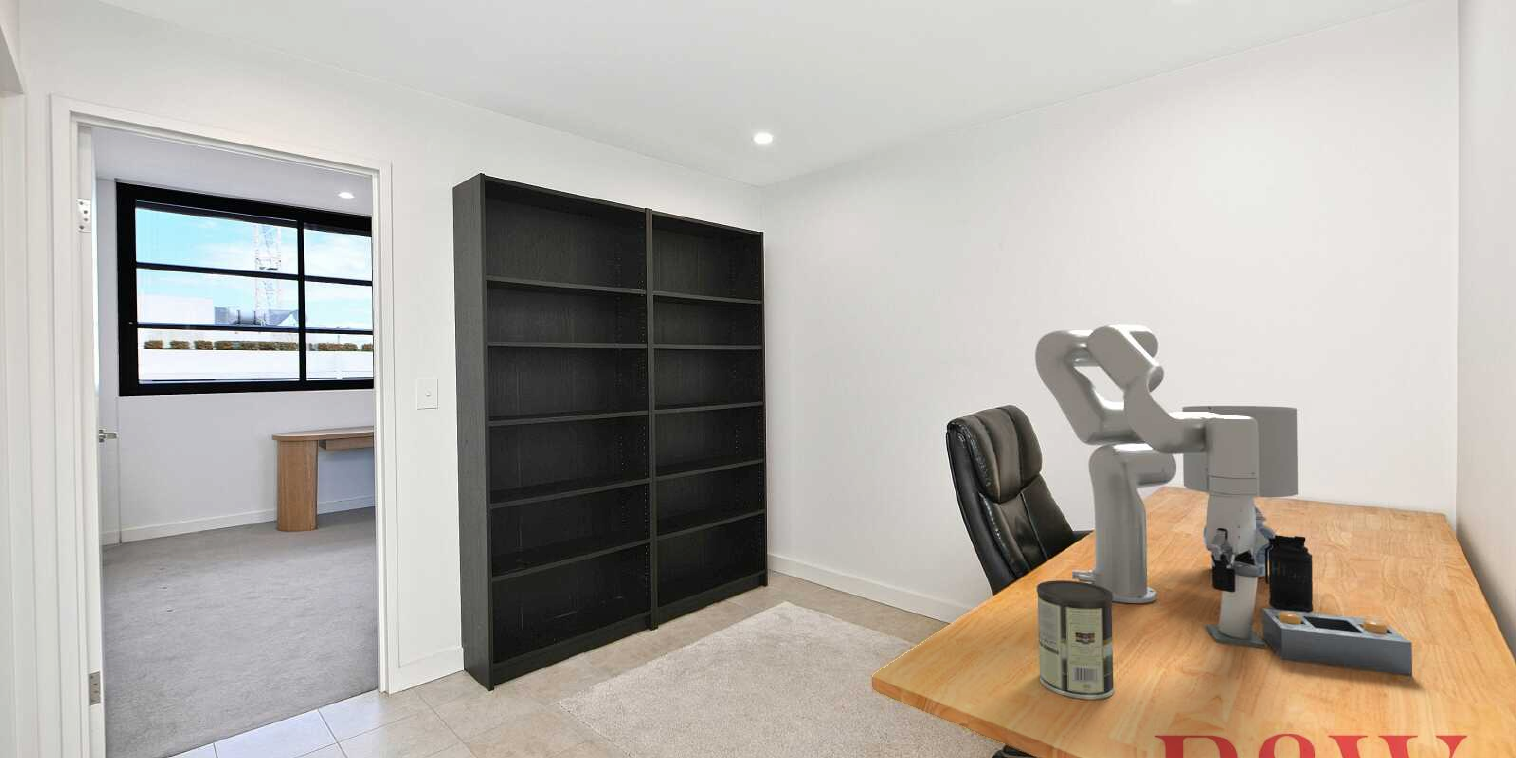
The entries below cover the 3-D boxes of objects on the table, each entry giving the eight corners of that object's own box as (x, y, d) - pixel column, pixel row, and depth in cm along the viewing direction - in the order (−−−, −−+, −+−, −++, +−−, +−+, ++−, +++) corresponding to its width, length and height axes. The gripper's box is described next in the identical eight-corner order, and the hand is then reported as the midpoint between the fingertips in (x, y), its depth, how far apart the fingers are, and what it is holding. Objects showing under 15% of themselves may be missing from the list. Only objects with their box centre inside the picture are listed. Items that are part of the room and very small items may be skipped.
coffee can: (1077, 665, 105) (1076, 576, 105) (1131, 694, 95) (1129, 596, 95) (1023, 674, 102) (1021, 583, 102) (1072, 705, 92) (1070, 604, 92)
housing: (1282, 659, 106) (1281, 628, 106) (1262, 636, 115) (1262, 608, 115) (1412, 675, 100) (1411, 642, 100) (1380, 650, 109) (1380, 620, 109)
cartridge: (1213, 630, 116) (1220, 563, 115) (1223, 624, 119) (1231, 559, 118) (1245, 641, 112) (1253, 572, 111) (1255, 634, 115) (1263, 567, 114)
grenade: (1306, 611, 127) (1305, 533, 127) (1318, 622, 121) (1317, 541, 121) (1261, 606, 130) (1260, 530, 130) (1270, 617, 124) (1269, 537, 124)
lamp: (1187, 554, 168) (1185, 405, 168) (1296, 567, 155) (1293, 406, 155) (1182, 575, 151) (1179, 409, 151) (1303, 592, 138) (1300, 410, 138)
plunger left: (1282, 646, 109) (1282, 616, 109) (1277, 640, 112) (1276, 611, 112) (1303, 649, 108) (1303, 618, 108) (1297, 642, 110) (1297, 613, 110)
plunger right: (1368, 656, 105) (1367, 625, 105) (1360, 649, 107) (1359, 619, 107) (1390, 659, 104) (1390, 627, 104) (1382, 652, 106) (1381, 621, 106)
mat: (1215, 642, 113) (1215, 638, 113) (1206, 627, 120) (1206, 624, 120) (1265, 648, 111) (1265, 644, 111) (1253, 632, 117) (1252, 629, 117)
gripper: (1225, 478, 123) (1227, 571, 123) (1188, 489, 113) (1189, 589, 113) (1274, 483, 117) (1276, 580, 117) (1239, 495, 107) (1241, 601, 107)
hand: (1233, 584), depth 115 cm, fingers open, 9 cm apart
